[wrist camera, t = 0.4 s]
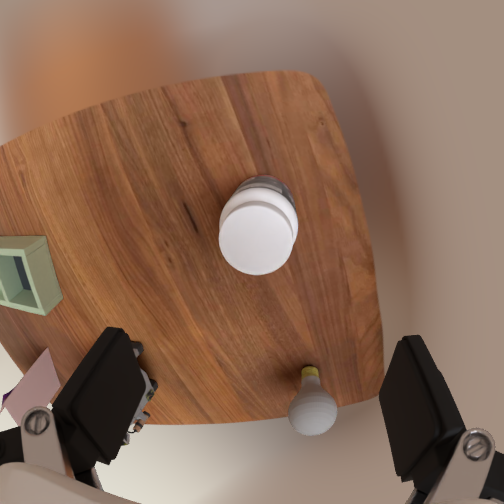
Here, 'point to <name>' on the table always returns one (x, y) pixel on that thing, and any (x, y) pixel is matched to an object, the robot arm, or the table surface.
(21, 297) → the holder
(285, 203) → the pill bottle
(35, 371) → the greeting card
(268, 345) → the table surface
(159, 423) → the table surface
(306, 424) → the light bulb
